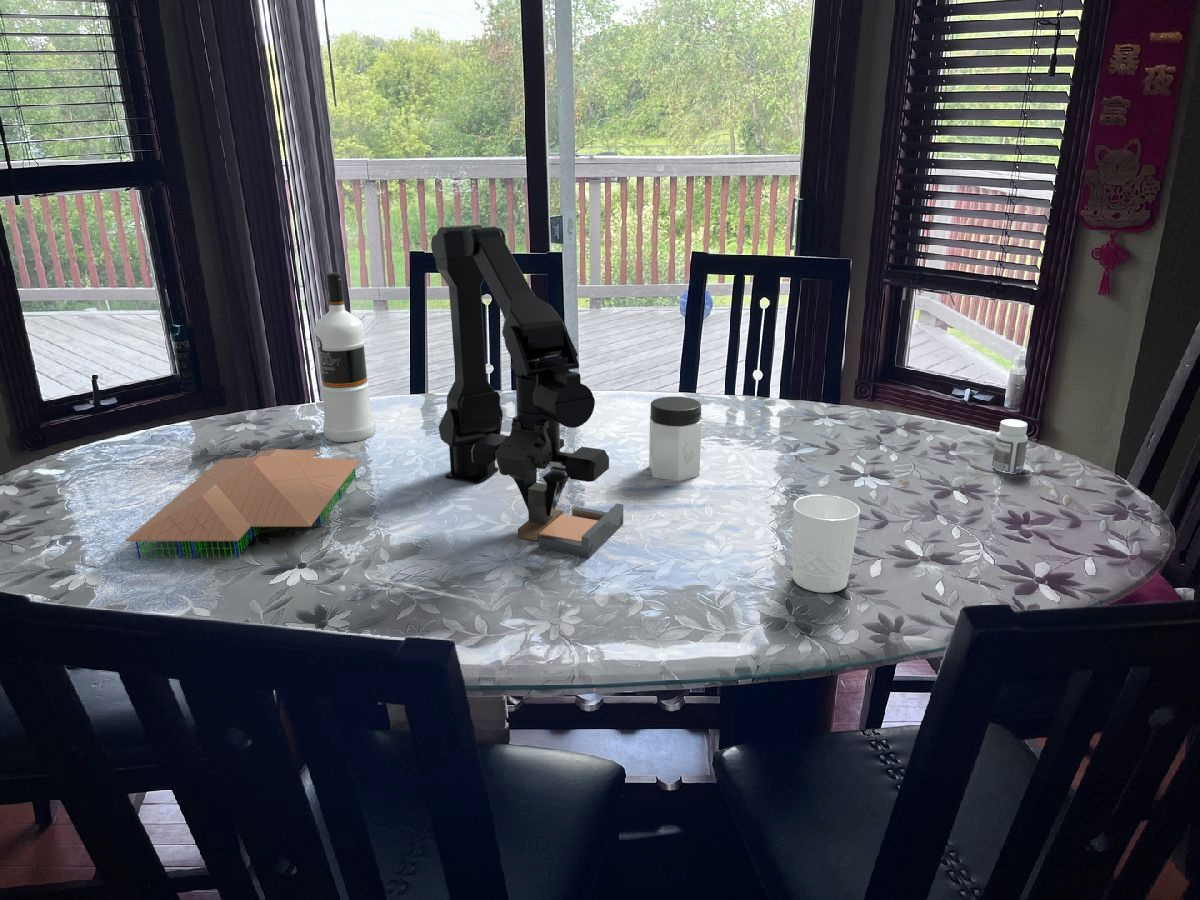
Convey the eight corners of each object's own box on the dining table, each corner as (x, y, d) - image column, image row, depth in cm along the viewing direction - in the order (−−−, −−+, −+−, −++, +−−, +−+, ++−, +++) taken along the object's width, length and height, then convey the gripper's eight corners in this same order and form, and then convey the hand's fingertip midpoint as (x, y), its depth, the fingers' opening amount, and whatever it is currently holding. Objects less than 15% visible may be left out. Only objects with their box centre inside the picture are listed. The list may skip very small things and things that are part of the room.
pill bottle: (1016, 466, 148) (1024, 418, 145) (1026, 477, 144) (1034, 427, 141) (987, 465, 149) (994, 417, 146) (996, 476, 144) (1003, 426, 141)
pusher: (517, 536, 123) (516, 495, 121) (544, 514, 130) (543, 475, 128) (537, 540, 122) (536, 499, 120) (562, 518, 129) (562, 478, 127)
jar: (667, 486, 141) (669, 414, 137) (637, 470, 147) (638, 401, 143) (710, 474, 145) (713, 404, 141) (680, 460, 152) (682, 393, 148)
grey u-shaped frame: (538, 548, 120) (537, 528, 119) (575, 515, 130) (575, 496, 129) (588, 558, 117) (588, 537, 116) (623, 523, 127) (623, 504, 126)
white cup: (780, 567, 115) (785, 495, 111) (840, 564, 115) (846, 493, 112) (798, 597, 107) (804, 521, 104) (862, 594, 108) (870, 518, 104)
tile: (539, 543, 123) (539, 533, 122) (561, 524, 129) (561, 514, 128) (585, 552, 120) (585, 542, 119) (606, 532, 126) (606, 521, 125)
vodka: (380, 440, 162) (364, 274, 152) (327, 447, 159) (308, 278, 148) (371, 426, 170) (356, 267, 160) (321, 432, 167) (302, 270, 156)
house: (366, 472, 148) (362, 425, 146) (302, 562, 117) (295, 505, 115) (229, 472, 149) (222, 426, 146) (129, 562, 117) (118, 506, 115)
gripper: (446, 415, 117) (453, 524, 122) (575, 434, 109) (576, 548, 115) (489, 394, 126) (494, 495, 131) (610, 409, 119) (610, 516, 124)
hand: (541, 513), depth 125 cm, fingers closed on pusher, 2 cm apart
